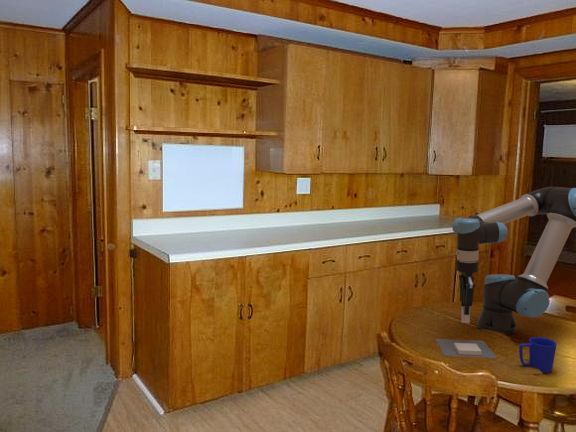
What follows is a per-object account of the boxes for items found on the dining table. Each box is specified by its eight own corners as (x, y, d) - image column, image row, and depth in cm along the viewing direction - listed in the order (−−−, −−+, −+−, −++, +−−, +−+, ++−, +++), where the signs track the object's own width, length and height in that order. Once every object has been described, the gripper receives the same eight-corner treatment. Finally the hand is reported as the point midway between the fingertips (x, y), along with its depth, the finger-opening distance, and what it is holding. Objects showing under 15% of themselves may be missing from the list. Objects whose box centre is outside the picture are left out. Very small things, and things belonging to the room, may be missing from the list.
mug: (511, 365, 168) (513, 337, 167) (544, 364, 169) (546, 336, 168) (525, 375, 160) (527, 346, 159) (559, 374, 161) (562, 345, 160)
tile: (476, 343, 178) (481, 351, 172) (475, 348, 179) (481, 355, 172) (453, 342, 179) (458, 350, 172) (453, 347, 179) (458, 354, 172)
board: (483, 344, 186) (483, 340, 186) (496, 361, 170) (497, 357, 170) (435, 342, 188) (435, 338, 188) (444, 359, 172) (444, 355, 172)
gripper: (452, 256, 185) (450, 316, 188) (461, 264, 172) (459, 328, 175) (472, 256, 184) (470, 316, 187) (483, 264, 172) (480, 328, 175)
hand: (465, 322), depth 181 cm, fingers closed
